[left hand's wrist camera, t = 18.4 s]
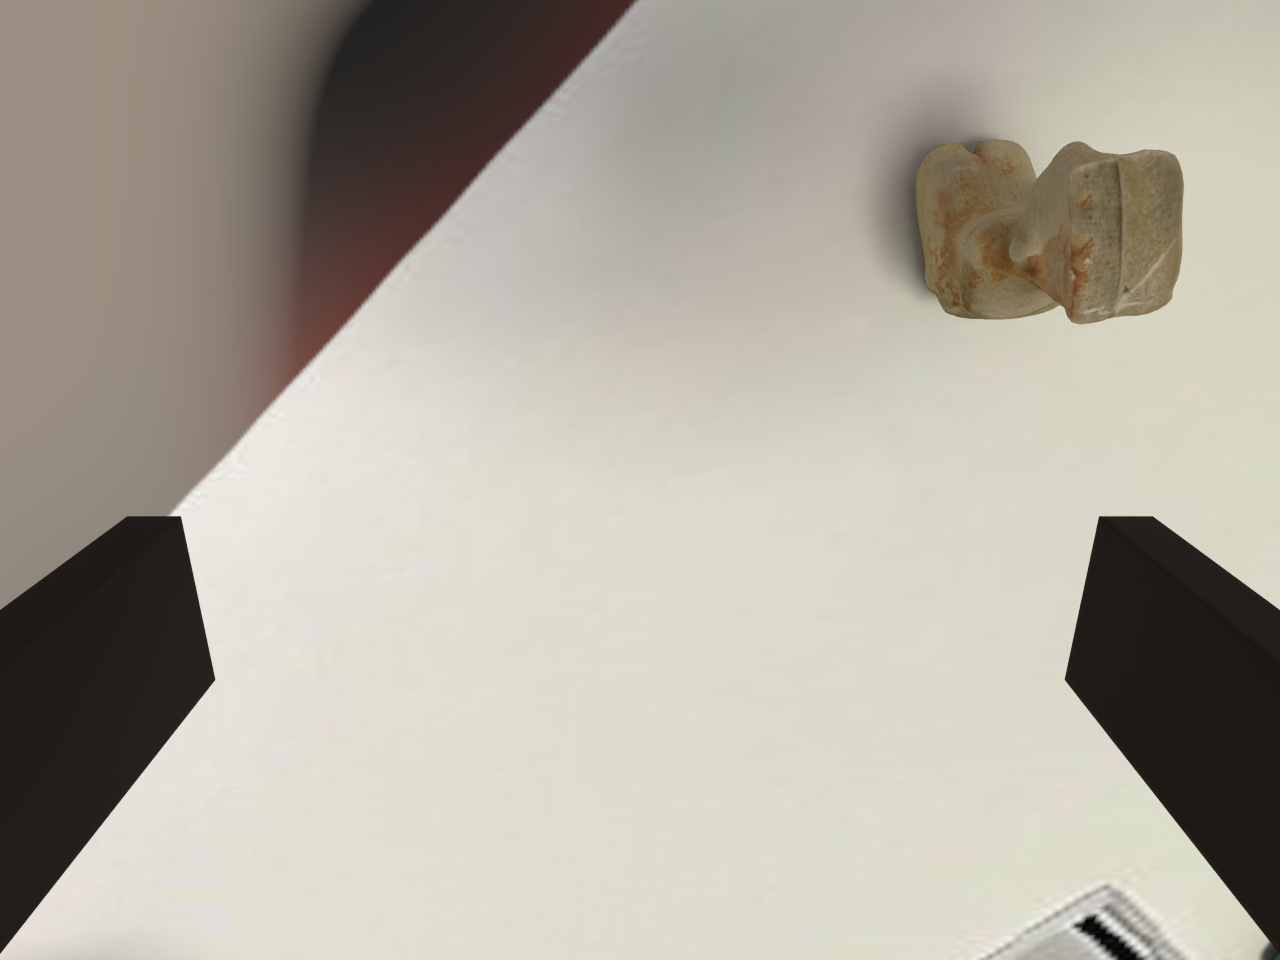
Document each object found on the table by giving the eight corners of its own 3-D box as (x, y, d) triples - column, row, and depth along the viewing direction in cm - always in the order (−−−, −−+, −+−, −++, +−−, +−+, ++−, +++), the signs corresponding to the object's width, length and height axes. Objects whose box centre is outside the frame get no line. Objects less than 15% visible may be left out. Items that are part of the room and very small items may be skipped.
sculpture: (1029, 134, 39) (1249, 132, 25) (1017, 297, 41) (1209, 378, 27) (897, 145, 39) (1042, 150, 25) (893, 307, 41) (1022, 392, 27)
